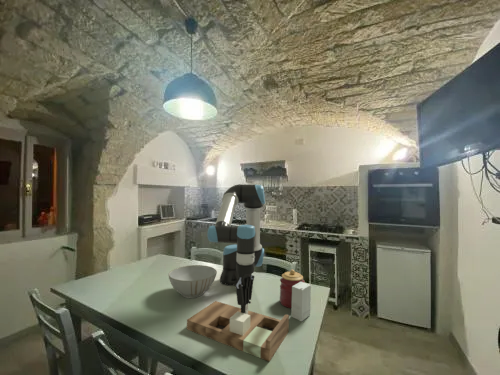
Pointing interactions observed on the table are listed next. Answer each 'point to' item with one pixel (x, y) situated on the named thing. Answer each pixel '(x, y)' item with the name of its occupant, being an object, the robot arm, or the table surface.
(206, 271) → the decorative bowl
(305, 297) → the skincare box
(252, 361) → the table surface
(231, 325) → the block
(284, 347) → the table surface
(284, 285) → the canister
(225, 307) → the board
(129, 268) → the table surface
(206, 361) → the table surface
